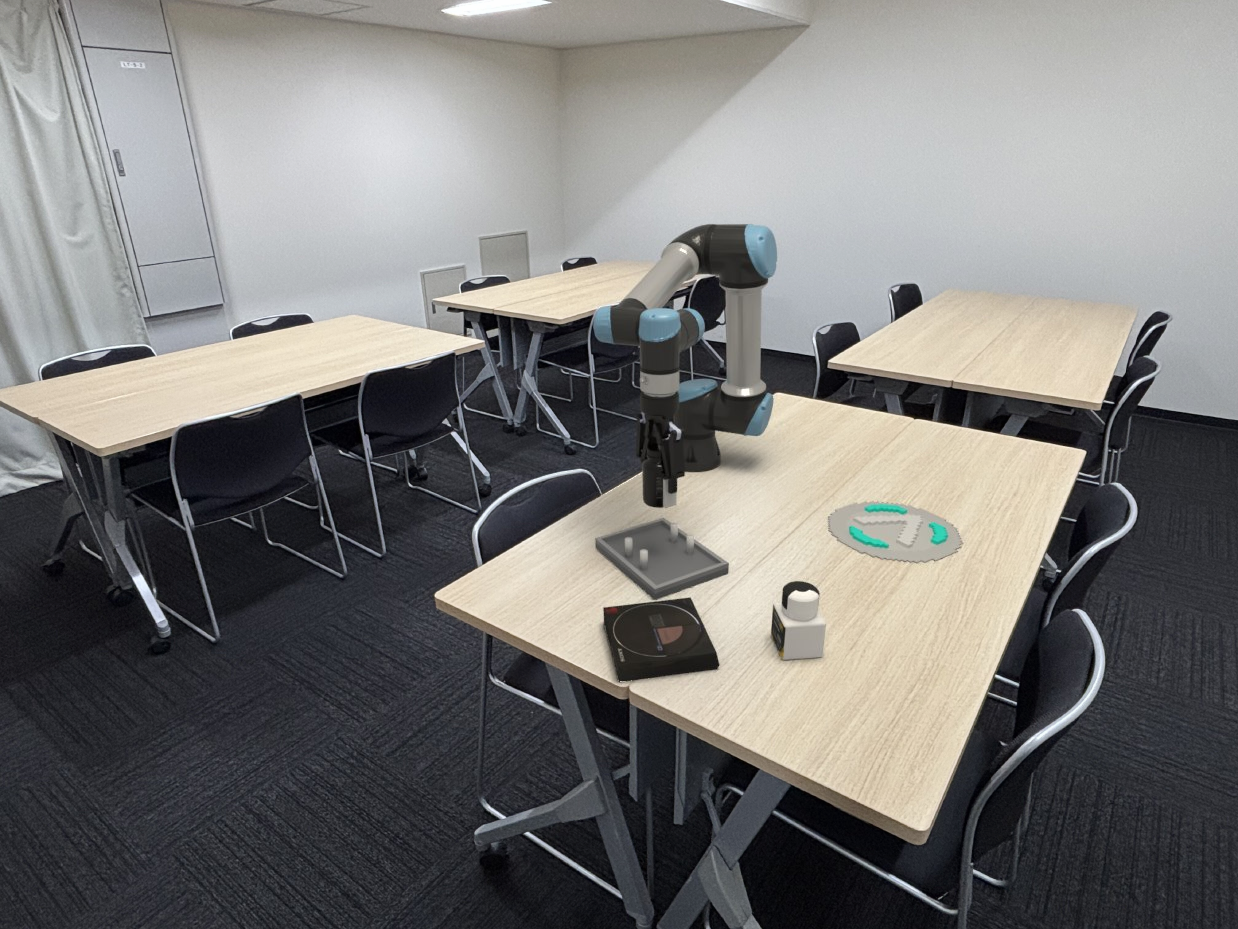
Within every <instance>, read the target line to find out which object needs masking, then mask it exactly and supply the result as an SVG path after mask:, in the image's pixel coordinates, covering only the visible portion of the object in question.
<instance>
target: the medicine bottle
mask: <svg viewBox="0 0 1238 929" xmlns="http://www.w3.org/2000/svg"><path fill="white" fill-rule="evenodd" d="M781 593H782V594H781V601H778V602H777V601H776V602H773V604H772V613H771V614H772V616H771V629H770V636H771V639H772V641H773V643H774V645H775V647H776V650H777V652H778V654H779V655H780V659H781V660H782V661H787V660H788V661H790V660H803V659H805V660H806V659H813V658H814V659H817V658H822V657H823V656H824V646H825V639H826V628H827V622H826V620H825V619H824V617H823V615H822V614H821V613H820V611H819V606H820V605H819V603H820V591H819V589H818V588H817V587H816V586H815V585H813V584H812V583H809V582H807V581H803V580H802V581H801V580H794V581H790V582H788V583H786V584H785V585H784V586H783V587H782V592H781Z"/></svg>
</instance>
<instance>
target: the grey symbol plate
mask: <svg viewBox="0 0 1238 929" xmlns="http://www.w3.org/2000/svg"><path fill="white" fill-rule="evenodd" d="M827 522H828V523H827V527H828V528H827V530H828V532H829V533H831V534H830V535H831V536H832V537H834V538H836V541H837V542H839V543H841V544H843V545H844V546H846V547H848V548H851V549H852V550H853V551H855V552H857V553H860V554H861V555H863V554H866V555H868V556H869V557H870V558H871V557H872V558H877V559H879V560H881V561H883V560H886V561H889V560H891V561H892V562H895V561H897V562H904V563H907V562H908V563H910V564H911V563H912V564H913V563H914V564H918V563H924V564H926V563H928V562H930V561H934V562H937V561H940V560H942V559H945V558H947V557H950V556H952V555H955V554H957V553H958V552H959V551H958V550H959V549H961V548H962V545H963V544H964V542H963V540H962V537H961V535H960V532H959V529H958V527H955V526H954V524H953V523H951V522H948V521H947V519H946V518H944V517H941V516H940V515H937V514H935V513H932V512H930V511H928V510H926V509H923V508H921V507H920V508H917V507H915V506H913V505H911V504H910V505H906V504H904V503H898V502H897V503H894V502H884V501H881V502H880V501H874V500H872V501H869V502H868V501H863V502H861V503H858V502H854V503H851V504H848V505H845V506H842V507H839V508H837V509H834V512H831V513H830V515H829V516H827Z"/></svg>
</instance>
